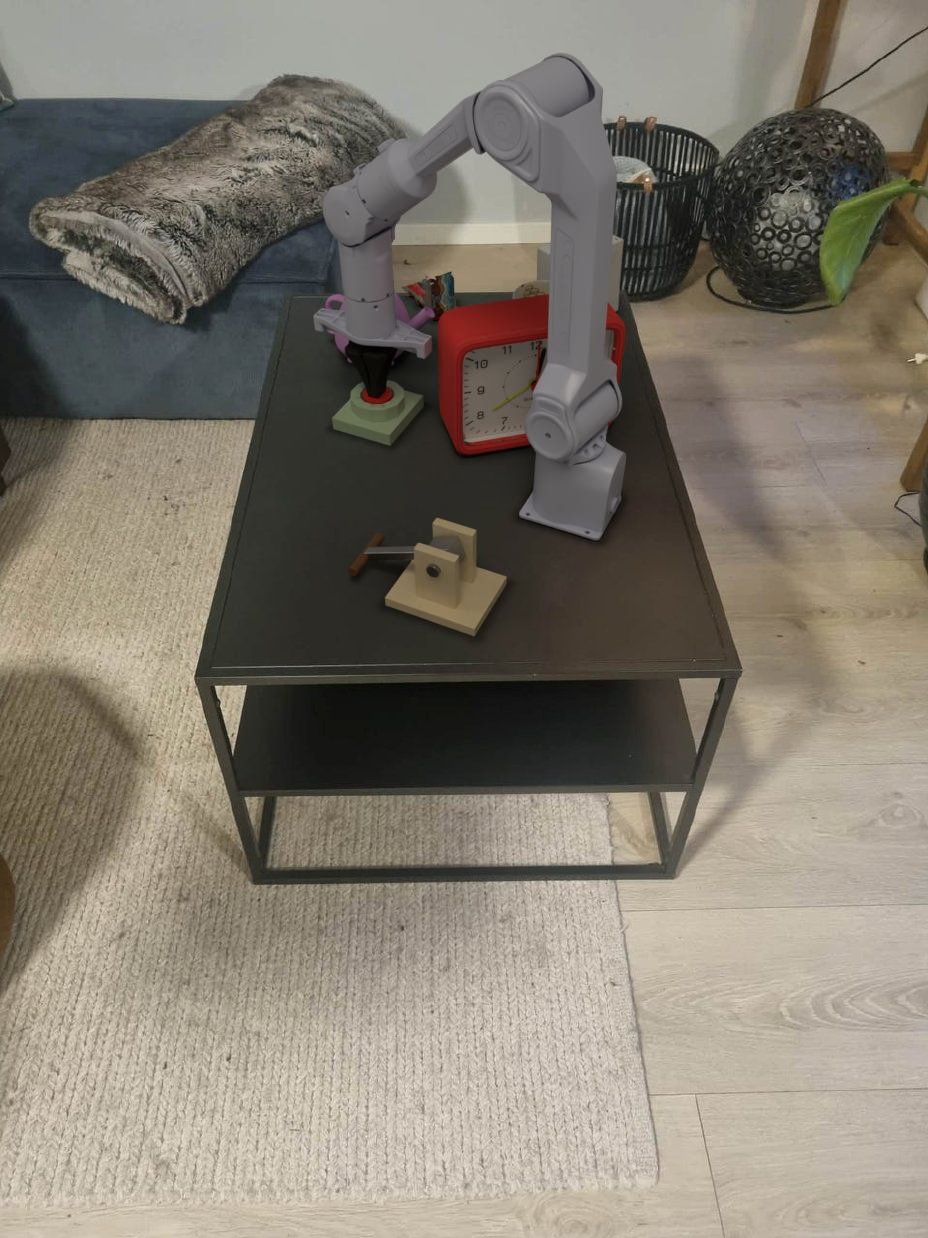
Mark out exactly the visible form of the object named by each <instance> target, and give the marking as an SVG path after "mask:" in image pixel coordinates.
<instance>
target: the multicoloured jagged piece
mask: <svg viewBox="0 0 928 1238" xmlns="http://www.w3.org/2000/svg"><path fill="white" fill-rule="evenodd" d="M452 273H453V271H452V270H451V271H447V272H446V273H442V274H439V275H435V276H434V278H429V276H428V275H426V274H424V276H425V278H423V279H421V280H419V281H417V282H414V283H410V284H407V285H405V286H404V285H402V286H401V289H402V290H403V292H405V293H406V294H407V295H408V296H409V297H410V298H411V297H413V298H414V299H415V303H416V305H417V306H418V307H421V306H422V307H423V308H425V307H426V306H427V307H429V308H431V309H432V311H433V312H434V314H435V317H434V318H433V319H432V321H437V320H438V321H439V319H440V317H441V315H442V314H443V313H444V312H446V311H447V310H449V309H452V308H456V307H458V306H457V301H456V293H455V277H454V274H452ZM412 294H413V295H412Z"/></svg>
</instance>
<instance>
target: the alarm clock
mask: <svg viewBox="0 0 928 1238" xmlns="http://www.w3.org/2000/svg"><path fill="white" fill-rule="evenodd" d="M548 317H549V294H546V295H539V296H532V297H525V298H518V299H512V298H511V299H506V300H498V301H491V302H490V301H489V302H484V303H477V304H469V305H462V306H457V307H456V308H452V309H449V310H447V311H446V312H444V313H443V314H442V315H441V317H440V319H438V323H437V367H438V369H437V370H438V371H437V372H438V406H439V407H438V408H439V414H440V416H441V419H442V421H443V423H444V425H445V428H446V430H447V433H448V435H449V438H450V439H451V442H452V444H453V446H454V448H455V451H456V453H458V454H460V455H462V456H474V455H481V454H486V453H493V452H497V451H504V450H510V449H515V448H521V447H527V446H532V445H531V444H530V442H529V440H528V438H527V436H526V432H525V418H526V415H527V414H528V412H529V410H530V409H531V407H532V403H533V391H534V389H535V387H536V385H537V383H538V381H539V379H540V377H541V375H542V373H543V371H544V369H545V367H546V364H547V353H548ZM626 333H627V331H626V324H625V323H624V321H623V320H622V318H621V317H620V316H619V314H618V313H617V311H616V312H615V311H614V309H613V308H612V307H611V305H610V304H609V303H608V305H607V318H606V331H605V344H604V356H605V357H606V358H608V359H609V360H611V361H612V362H613V363H615V364H616V365H617V374H616V378H617V383H618V387H619V385H620V378H621V372H622V366H623V357H624V350H625V344H626ZM613 421H614V420H612V421H611V422H609V423H608V428H609V427H610V426H611V425H612V424H613V423H612V422H613Z"/></svg>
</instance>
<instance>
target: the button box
mask: <svg viewBox="0 0 928 1238" xmlns="http://www.w3.org/2000/svg"><path fill="white" fill-rule="evenodd" d="M386 387H387V388H389V389H390V390H391V392H392V399H391V400H390V401H389V402H386V403H383V404H370V403H367V402H364V401H363V395H362V394H363V391H364V390H365V389H366V388H365V385H364V383H363V381H362V382H360V383H357V384H356V385H355V386H354V387H353V388H352V389H351V390H350V398H349V400H347V402H346V403H344V405H343V406H342V407H341V408H340V409H339V410H338V411H337V412H336V413H335V414H334V415H333V416H332V417H331V421H332V429H333V430H335V431H338V432H341V433H345V434H348V435H351V436H355V437H358V438H362V439H364V440H368V441H372V442H376V443H379V444H382V445H385V446H389V447H391V446H392V445H393V443H395V441H396V440H397V439H398V438H399V436H400V435H401V434H402V433H403V432H404V431H405V429H406V428H407V427H408V426H409V425H410V424H411V422H413V420H414V419H415V418H416V416H417V415H418V414H419V413H420V412H421V410H422V409H423V408H424V405H425V404H424V403H425V402H424V395H422V394H418V393H415V392H411V391H408V390H404V388H403V387H402V386H401V385H399V384H398V383H397V382H395V381H392V380H389V379H387V385H386Z"/></svg>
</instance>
